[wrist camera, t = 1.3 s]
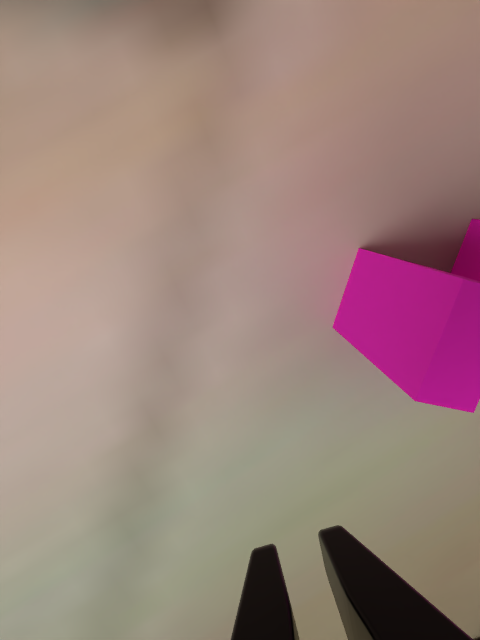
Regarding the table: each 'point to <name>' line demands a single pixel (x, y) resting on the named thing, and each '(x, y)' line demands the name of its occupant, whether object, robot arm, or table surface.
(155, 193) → the table surface
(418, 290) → the magenta cradle block
